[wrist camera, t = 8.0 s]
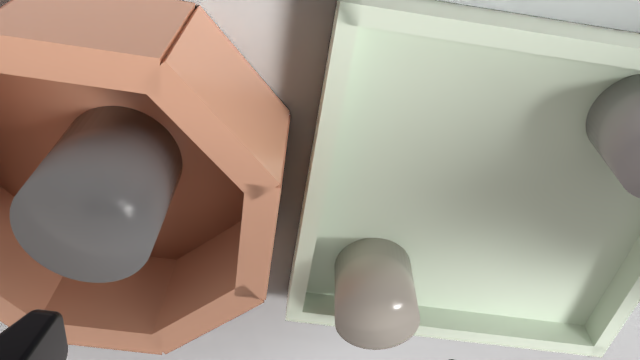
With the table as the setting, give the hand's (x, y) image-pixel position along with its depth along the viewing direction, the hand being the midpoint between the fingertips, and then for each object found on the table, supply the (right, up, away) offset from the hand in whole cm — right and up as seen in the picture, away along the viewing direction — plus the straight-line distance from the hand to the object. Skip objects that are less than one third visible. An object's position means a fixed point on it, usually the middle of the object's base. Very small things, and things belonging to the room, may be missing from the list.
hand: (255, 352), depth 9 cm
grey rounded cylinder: (-6, +4, +10) cm, 12 cm away
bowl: (-6, +4, +11) cm, 13 cm away
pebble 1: (+3, -1, +13) cm, 14 cm away
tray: (+7, +2, +12) cm, 14 cm away
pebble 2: (+11, +5, +9) cm, 15 cm away
